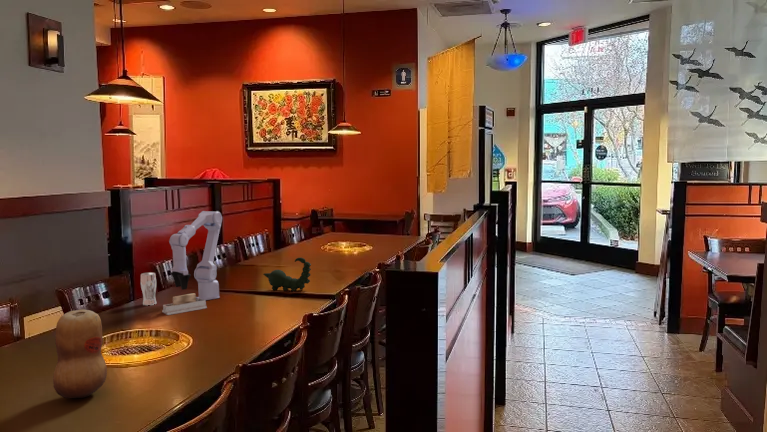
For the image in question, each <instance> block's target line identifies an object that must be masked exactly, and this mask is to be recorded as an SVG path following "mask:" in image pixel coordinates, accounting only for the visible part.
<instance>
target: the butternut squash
mask: <svg viewBox="0 0 767 432" xmlns="http://www.w3.org/2000/svg"><path fill="white" fill-rule="evenodd" d="M54 339H55V341H54V342H55V347H56V353H57V354H56V355H57V363H56V366H55V368H54V372H53V377H52V378H53V379H52V384H53V389H54V390H55V393H56V394H57V395H59V396H60V397H63V398H64V399H77V398H78V399H84V398H87V397H90V396H91V395H93V394H94V393H95V392H97V390H99V389H100V388H101V387H102V386H103V385H104V383H105V382H106V381H107V373H108V372H107V371H108V370H107V363H106V360H105V359H104V356H103V354H102V346H103V341H104V337H103V326H102V320H101V317H100V316H99V314H98V313H96V312H95V311H93V310H89V309H77V310H70V311H68V312H66V313H64V314H62V315H61V317H60V318H59V319H58V321H57V323H56V328H55V337H54Z"/></svg>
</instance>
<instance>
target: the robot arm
mask: <svg viewBox="0 0 767 432" xmlns="http://www.w3.org/2000/svg"><path fill="white" fill-rule="evenodd" d="M222 222H223V216H222V213H221V212H220V211H219V210H216V211H213V210H212V211H208V210H207V211H206V210H202V211H201V212H200V213H198V216H197V218H196V219H194V221H193V222H191V223H190V224H185V225H184V227H182V228H181V229H180V230H178V232H177V233H173V234H172V235H171V236H170V238H169V239H168V242H169V245H170V247H171V250H172V261H173V262H172V264H173V266H172V268H171V270H170V271H171V272H170V275H171V276H172V278H173V281H174V284H175V287H176V288H178V287H180V289H181V290H184V291H185V290H187V288H188V284H189V280H190V279H191V276H192V275H191V274H190V273H189V270H188V267H187V265H188V264H187V251H186V250H187V249H186V247H187V245H188V243H189V240H190V239H191V238H192V237H193V236H195V235H196V231H197V230H198V229H200V227H202V226H203V227H204V228H205V229H207V237H206V242H205V246H204V250H203V254H202V260H201V261H200V262H198V263H197V265H196V268H195V269H194V273H193V276H194V279H195V280H196V282H197V285H198V286H197V287H198V289H197V290H198V296H196V299H204V300H206V301H209V300H215V299H220V298H221V296H220V284H219V281H218V280H217V279H216V278H217V275H218V274H217V269H218V267H217V265H216V264H215V263H214V259H215V255H216V250H217V246H218V245H217V244H218V242H219V241H218V240H219V236H220V235H219V234H220V232H221V227H222Z"/></svg>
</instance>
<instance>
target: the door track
mask: <svg viewBox="0 0 767 432" xmlns="http://www.w3.org/2000/svg"><path fill="white" fill-rule="evenodd" d="M206 301H207V300H204V299H197V298H196V302H190V303H184V304H178V305H173V302H172V303H167V304H163V305H162V310H161V311H162V313H163V314H165V315H167V316H170V315H171V316H172V315H176V314H182V313H187V312H193V311H199V310H205V309H208V307H207V306H208V305H207V302H206Z"/></svg>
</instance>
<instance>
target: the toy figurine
mask: <svg viewBox="0 0 767 432" xmlns="http://www.w3.org/2000/svg"><path fill="white" fill-rule="evenodd" d="M296 262H300V263H301V264H303V267H302V269H301V270H302V272H301V274H300V277H299V278H295V277H294V278H293V277H292V276H290V275H287V274H286V273H285V271H283V270H282V269H274V270H272V271H271V272H268V273H263V274H262V275H263V276H264V277H266V278H267V279H268V283H269V285H270V286H271V289H272V291H273V292H275V290H276V291H278V290H279V288H282V291H286V292H287V291H288V289H290V290H291V292H293V291H294V292H295V291H296V290H298V289H299V290H303V289H304V288H305V287H306V286H305V285H306V284H309V283H310V282H311V280H310V279H309V277H310V276H311V273H310V271H311V270H312V268H311V265H312V263H311V262H310V261H306V259H305V258H303V257H296V258H295V259H294V263H296Z"/></svg>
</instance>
